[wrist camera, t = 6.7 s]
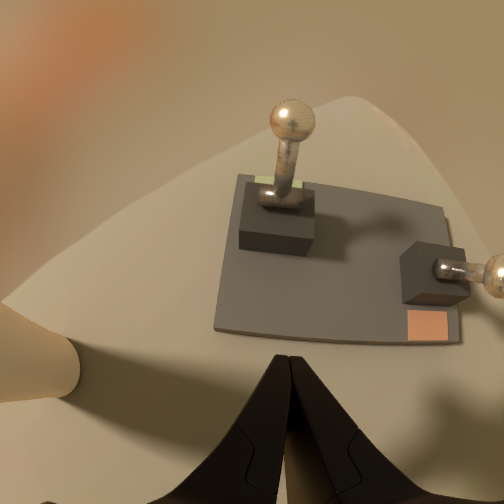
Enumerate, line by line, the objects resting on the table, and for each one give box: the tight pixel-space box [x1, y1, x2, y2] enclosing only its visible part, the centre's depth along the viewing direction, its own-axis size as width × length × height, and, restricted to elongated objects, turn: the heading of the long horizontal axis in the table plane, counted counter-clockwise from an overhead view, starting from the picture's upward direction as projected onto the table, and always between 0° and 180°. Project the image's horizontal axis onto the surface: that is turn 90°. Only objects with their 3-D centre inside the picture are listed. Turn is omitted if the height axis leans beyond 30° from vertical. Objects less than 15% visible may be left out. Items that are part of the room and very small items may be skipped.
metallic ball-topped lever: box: [257, 99, 316, 210], centre depth 18 cm, size 3×3×8 cm
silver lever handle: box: [432, 254, 504, 299], centre depth 15 cm, size 3×3×8 cm
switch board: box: [213, 174, 471, 345], centre depth 22 cm, size 13×20×4 cm, turn 84°
